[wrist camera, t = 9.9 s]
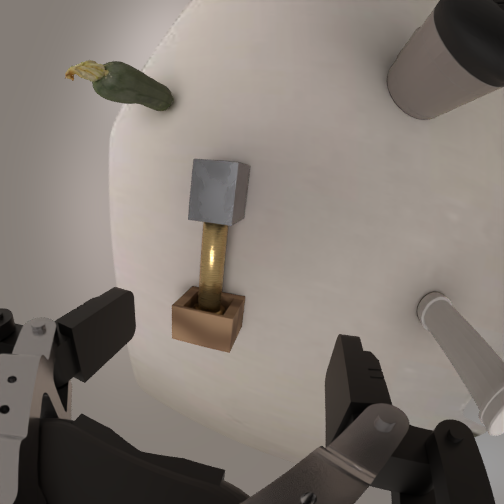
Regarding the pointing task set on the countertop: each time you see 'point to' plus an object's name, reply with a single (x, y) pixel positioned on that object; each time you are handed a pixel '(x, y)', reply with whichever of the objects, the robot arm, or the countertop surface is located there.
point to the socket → (207, 321)
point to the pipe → (467, 357)
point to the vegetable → (123, 84)
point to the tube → (212, 268)
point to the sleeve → (218, 191)
